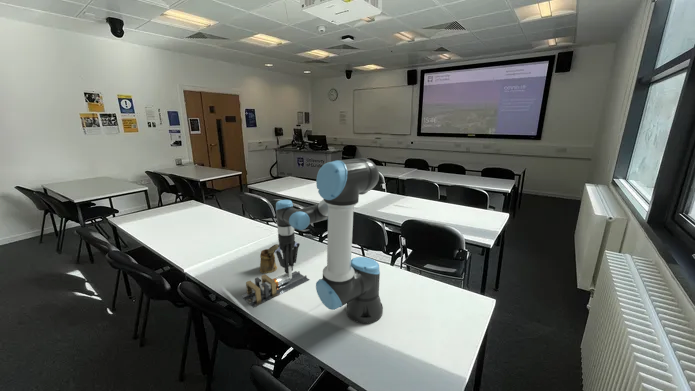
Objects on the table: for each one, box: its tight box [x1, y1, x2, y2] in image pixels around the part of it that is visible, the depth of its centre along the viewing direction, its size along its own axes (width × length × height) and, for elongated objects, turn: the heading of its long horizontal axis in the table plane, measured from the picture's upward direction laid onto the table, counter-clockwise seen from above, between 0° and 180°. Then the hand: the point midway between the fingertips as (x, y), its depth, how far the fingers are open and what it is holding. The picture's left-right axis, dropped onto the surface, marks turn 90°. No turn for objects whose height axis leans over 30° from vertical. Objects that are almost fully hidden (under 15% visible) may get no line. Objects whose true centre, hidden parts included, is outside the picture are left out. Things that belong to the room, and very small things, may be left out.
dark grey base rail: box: [240, 270, 311, 308], centre depth 133 cm, size 12×30×2 cm, turn 135°
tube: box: [259, 272, 290, 294], centre depth 132 cm, size 14×4×4 cm, turn 135°
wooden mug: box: [259, 243, 279, 274], centre depth 146 cm, size 9×14×18 cm, turn 46°
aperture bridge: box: [254, 277, 269, 299], centre depth 127 cm, size 9×2×6 cm, turn 45°
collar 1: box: [245, 280, 262, 304], centre depth 124 cm, size 9×2×6 cm, turn 45°
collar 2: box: [260, 273, 277, 296], centre depth 129 cm, size 9×2×6 cm, turn 45°
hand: (289, 277), depth 137 cm, fingers closed
